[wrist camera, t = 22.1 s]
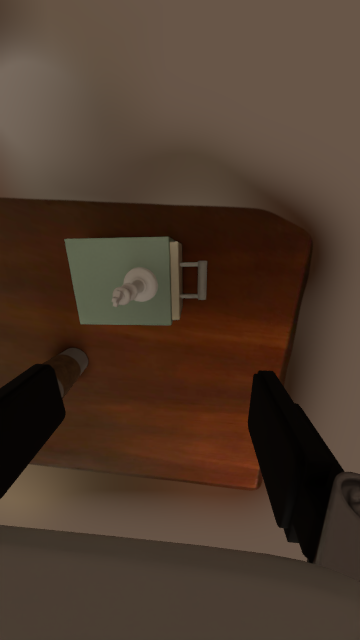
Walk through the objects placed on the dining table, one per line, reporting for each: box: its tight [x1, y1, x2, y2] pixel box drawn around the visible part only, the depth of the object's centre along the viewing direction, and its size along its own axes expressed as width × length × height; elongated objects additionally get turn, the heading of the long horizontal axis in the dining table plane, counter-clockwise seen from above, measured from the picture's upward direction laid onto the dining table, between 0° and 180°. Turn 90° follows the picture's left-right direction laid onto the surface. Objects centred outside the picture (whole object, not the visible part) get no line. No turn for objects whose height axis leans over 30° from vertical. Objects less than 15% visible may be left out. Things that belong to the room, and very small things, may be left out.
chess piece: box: [111, 267, 158, 307], centre depth 24 cm, size 5×5×10 cm
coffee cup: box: [43, 348, 88, 399], centre depth 38 cm, size 8×8×15 cm
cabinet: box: [64, 237, 176, 325], centre depth 33 cm, size 15×13×10 cm
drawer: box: [170, 242, 207, 320], centre depth 33 cm, size 18×11×8 cm, turn 91°
